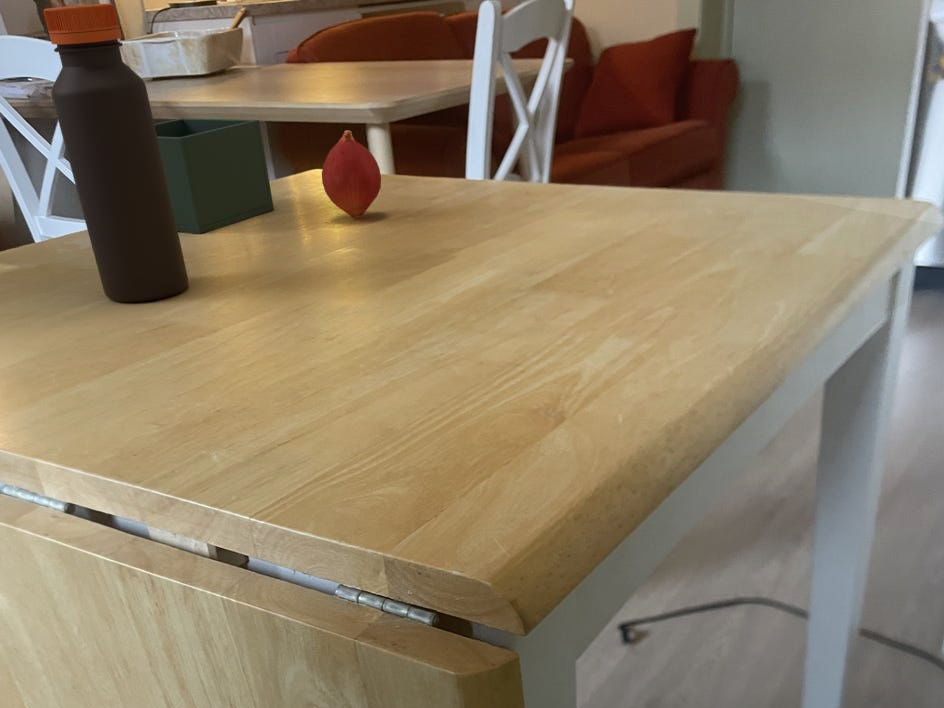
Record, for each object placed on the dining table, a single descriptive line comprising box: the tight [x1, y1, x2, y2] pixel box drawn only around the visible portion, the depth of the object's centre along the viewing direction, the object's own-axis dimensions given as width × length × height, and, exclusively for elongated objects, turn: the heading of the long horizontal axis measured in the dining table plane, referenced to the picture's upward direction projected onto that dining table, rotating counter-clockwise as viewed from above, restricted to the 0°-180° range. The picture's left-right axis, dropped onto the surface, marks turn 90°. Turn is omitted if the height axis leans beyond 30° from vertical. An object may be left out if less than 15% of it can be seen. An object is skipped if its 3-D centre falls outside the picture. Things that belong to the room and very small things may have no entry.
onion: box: [321, 129, 382, 219], centre depth 99 cm, size 6×6×8 cm
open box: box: [154, 117, 275, 235], centre depth 104 cm, size 11×11×9 cm
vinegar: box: [43, 3, 189, 303], centre depth 77 cm, size 7×7×20 cm
